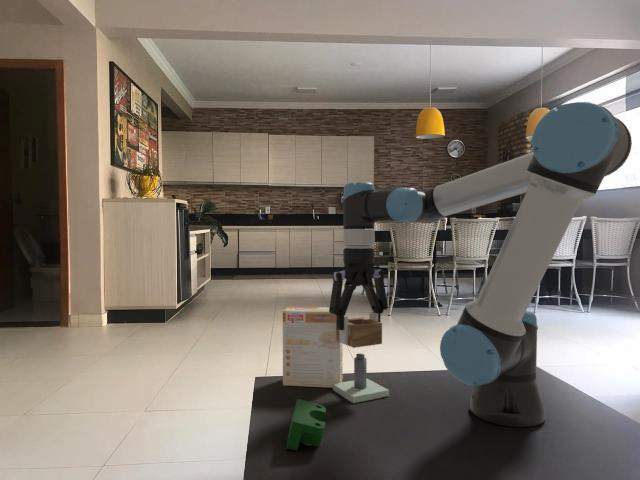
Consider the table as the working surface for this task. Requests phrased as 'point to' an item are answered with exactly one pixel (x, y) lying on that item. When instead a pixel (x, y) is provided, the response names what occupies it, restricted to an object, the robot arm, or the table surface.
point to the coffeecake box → (311, 348)
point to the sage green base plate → (360, 384)
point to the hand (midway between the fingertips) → (359, 341)
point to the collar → (362, 332)
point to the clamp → (306, 424)
